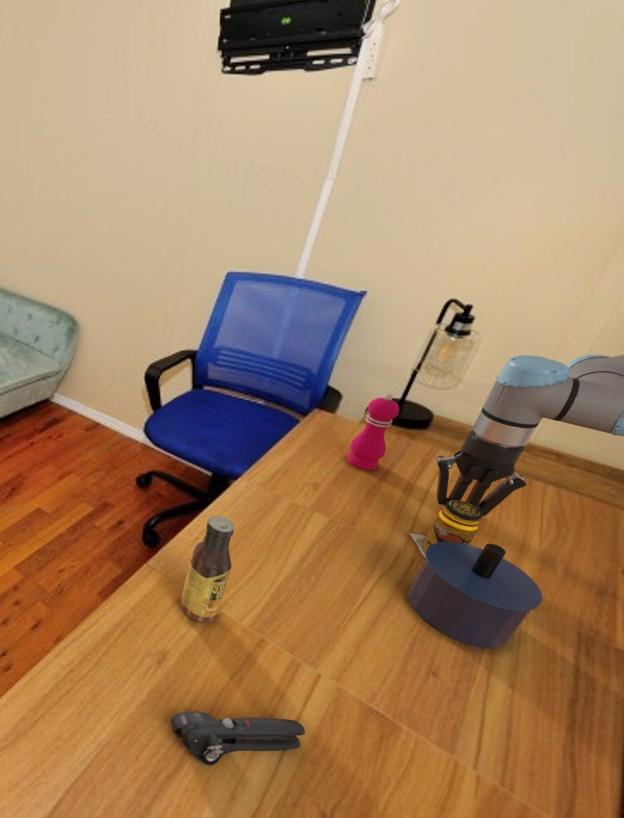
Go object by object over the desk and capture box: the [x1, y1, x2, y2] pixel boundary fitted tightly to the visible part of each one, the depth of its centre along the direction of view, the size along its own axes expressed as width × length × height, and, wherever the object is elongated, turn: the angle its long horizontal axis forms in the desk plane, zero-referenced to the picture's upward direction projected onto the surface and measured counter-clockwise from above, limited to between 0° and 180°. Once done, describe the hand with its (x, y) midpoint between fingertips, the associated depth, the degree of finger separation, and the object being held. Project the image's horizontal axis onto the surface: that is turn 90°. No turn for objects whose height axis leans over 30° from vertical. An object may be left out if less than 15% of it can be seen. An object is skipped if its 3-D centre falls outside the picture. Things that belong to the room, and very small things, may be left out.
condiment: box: [408, 500, 483, 558], centre depth 99 cm, size 7×8×12 cm
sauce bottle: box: [180, 515, 235, 624], centre depth 86 cm, size 7×6×20 cm
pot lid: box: [424, 542, 543, 612], centre depth 83 cm, size 15×15×7 cm
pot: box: [407, 558, 532, 649], centre depth 87 cm, size 14×14×10 cm
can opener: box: [170, 711, 306, 766], centre depth 70 cm, size 18×7×6 cm, turn 90°
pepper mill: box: [347, 393, 400, 471], centre depth 125 cm, size 7×7×20 cm
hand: (444, 533), depth 103 cm, fingers closed
